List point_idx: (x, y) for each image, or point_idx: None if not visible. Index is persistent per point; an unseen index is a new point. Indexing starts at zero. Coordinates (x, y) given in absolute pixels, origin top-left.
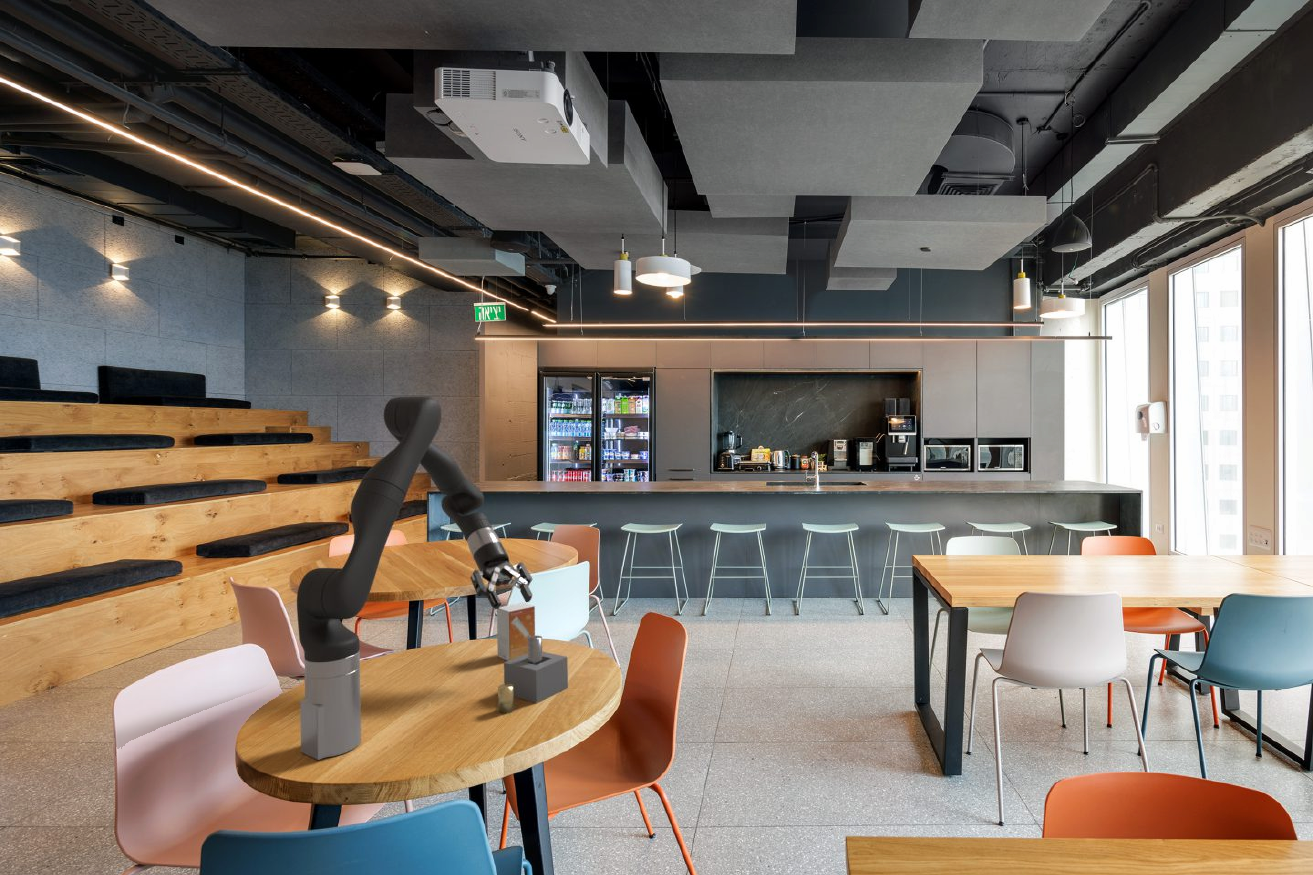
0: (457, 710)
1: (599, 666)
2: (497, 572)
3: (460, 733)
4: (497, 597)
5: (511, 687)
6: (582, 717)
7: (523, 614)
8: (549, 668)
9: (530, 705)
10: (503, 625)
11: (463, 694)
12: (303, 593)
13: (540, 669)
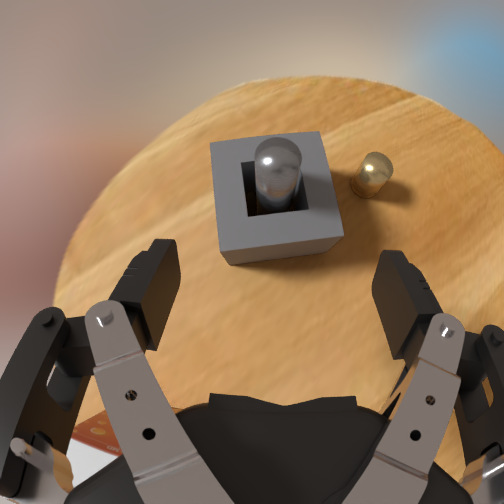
0: (420, 256)
1: (102, 217)
2: (388, 466)
3: (442, 179)
4: (403, 275)
5: (372, 153)
6: (290, 82)
7: (108, 441)
8: None
9: None
10: None
11: (380, 319)
12: None
13: (305, 133)
